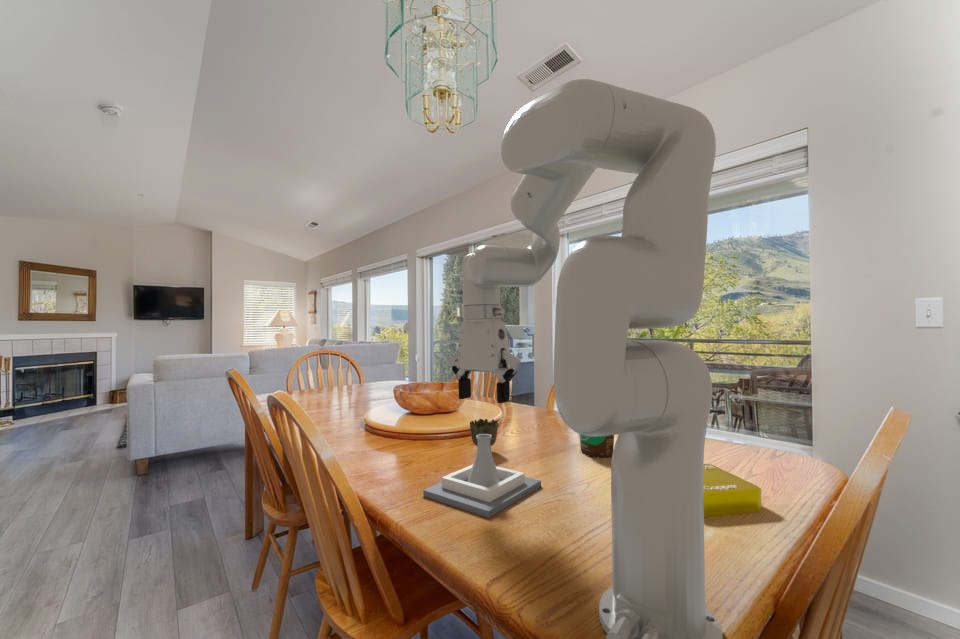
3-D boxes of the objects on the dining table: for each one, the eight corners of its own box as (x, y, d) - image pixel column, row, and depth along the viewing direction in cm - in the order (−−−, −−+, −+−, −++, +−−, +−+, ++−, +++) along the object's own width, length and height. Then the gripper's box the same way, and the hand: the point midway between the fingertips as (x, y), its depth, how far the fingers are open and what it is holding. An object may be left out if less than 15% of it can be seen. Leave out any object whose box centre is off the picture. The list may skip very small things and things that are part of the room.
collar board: (488, 518, 75) (488, 499, 75) (423, 496, 85) (423, 479, 85) (541, 486, 89) (540, 470, 89) (480, 470, 99) (479, 456, 99)
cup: (464, 454, 112) (464, 423, 112) (478, 446, 118) (477, 417, 119) (490, 458, 108) (490, 426, 109) (503, 450, 115) (502, 420, 115)
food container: (566, 449, 115) (566, 411, 115) (585, 446, 118) (584, 409, 118) (597, 462, 104) (596, 420, 104) (617, 458, 107) (616, 418, 107)
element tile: (689, 520, 74) (689, 492, 74) (643, 488, 89) (643, 464, 89) (767, 514, 76) (767, 486, 76) (710, 483, 91) (709, 460, 91)
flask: (499, 493, 83) (498, 441, 83) (462, 491, 84) (461, 439, 84) (505, 480, 90) (504, 431, 90) (471, 478, 91) (470, 430, 91)
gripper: (528, 313, 85) (530, 401, 84) (461, 316, 96) (462, 394, 95) (506, 313, 79) (508, 407, 79) (437, 316, 90) (439, 399, 89)
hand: (483, 400), depth 87 cm, fingers open, 9 cm apart
